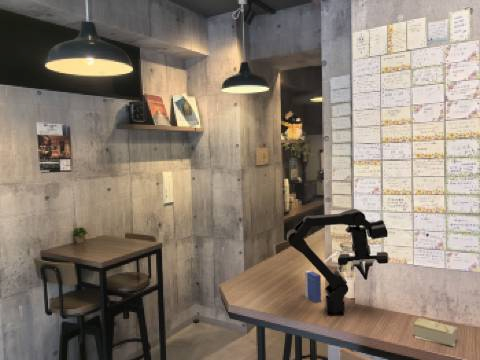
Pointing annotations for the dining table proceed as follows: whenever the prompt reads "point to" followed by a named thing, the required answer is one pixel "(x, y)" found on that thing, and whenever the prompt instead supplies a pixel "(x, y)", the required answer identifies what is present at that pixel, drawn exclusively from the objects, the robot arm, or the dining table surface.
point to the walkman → (313, 286)
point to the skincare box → (435, 331)
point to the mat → (429, 340)
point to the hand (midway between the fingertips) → (366, 279)
